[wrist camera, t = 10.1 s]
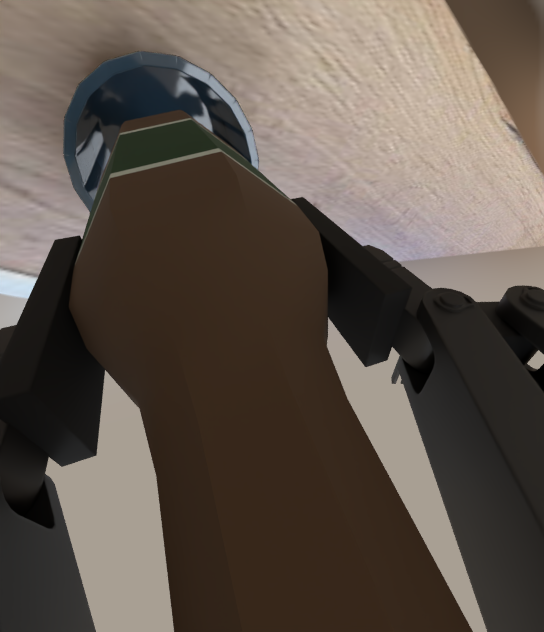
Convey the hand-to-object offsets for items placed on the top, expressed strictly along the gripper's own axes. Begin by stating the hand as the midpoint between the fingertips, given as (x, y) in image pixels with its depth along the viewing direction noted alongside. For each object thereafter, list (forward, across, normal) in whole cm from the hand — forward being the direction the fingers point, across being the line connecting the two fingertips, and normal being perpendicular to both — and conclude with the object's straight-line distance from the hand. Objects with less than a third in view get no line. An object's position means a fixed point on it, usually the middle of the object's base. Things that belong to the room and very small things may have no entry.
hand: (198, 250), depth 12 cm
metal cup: (+19, 0, 0) cm, 19 cm away
